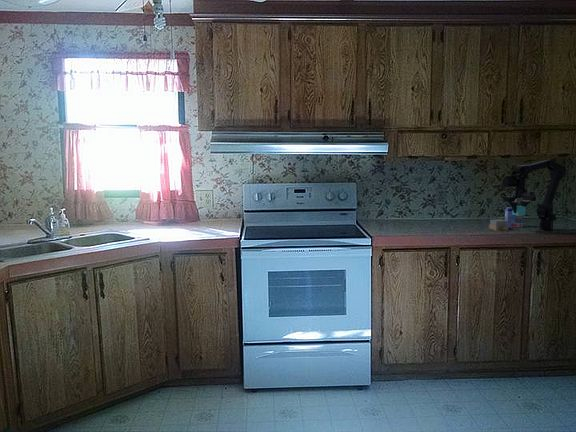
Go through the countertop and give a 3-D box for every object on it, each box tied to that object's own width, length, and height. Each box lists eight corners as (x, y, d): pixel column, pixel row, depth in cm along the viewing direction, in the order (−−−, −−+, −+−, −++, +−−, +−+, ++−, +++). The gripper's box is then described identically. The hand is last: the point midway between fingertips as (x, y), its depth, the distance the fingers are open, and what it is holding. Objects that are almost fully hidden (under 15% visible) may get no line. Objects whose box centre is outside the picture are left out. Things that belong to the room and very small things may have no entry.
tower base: (500, 228, 309) (500, 223, 308) (508, 230, 301) (508, 226, 300) (488, 229, 307) (489, 224, 307) (496, 231, 300) (496, 226, 299)
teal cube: (519, 214, 297) (520, 205, 296) (525, 215, 292) (525, 206, 291) (512, 214, 295) (512, 206, 295) (518, 215, 291) (518, 207, 290)
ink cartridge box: (507, 227, 310) (508, 204, 308) (503, 225, 315) (504, 203, 313) (523, 227, 309) (524, 204, 307) (519, 225, 314) (520, 203, 312)
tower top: (500, 224, 308) (500, 219, 307) (507, 225, 301) (507, 221, 301) (490, 224, 307) (490, 219, 307) (496, 226, 300) (496, 221, 300)
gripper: (515, 188, 281) (514, 215, 284) (543, 187, 286) (542, 214, 288) (503, 186, 292) (501, 213, 294) (530, 185, 296) (528, 211, 299)
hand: (518, 213), depth 293 cm, fingers closed on teal cube, 5 cm apart
